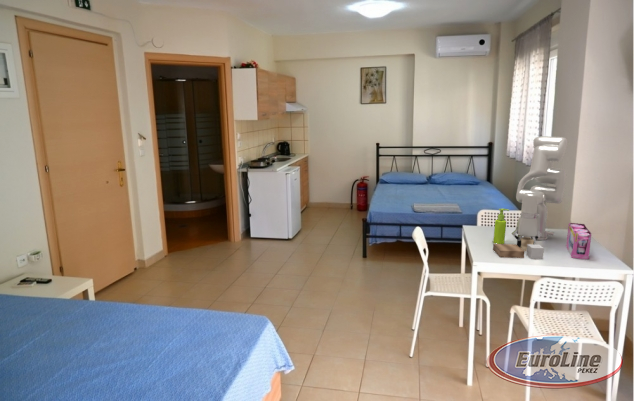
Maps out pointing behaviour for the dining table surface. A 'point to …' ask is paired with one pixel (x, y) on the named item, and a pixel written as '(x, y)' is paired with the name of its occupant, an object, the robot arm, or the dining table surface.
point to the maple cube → (526, 242)
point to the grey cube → (535, 251)
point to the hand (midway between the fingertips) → (525, 247)
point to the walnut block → (508, 250)
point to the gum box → (578, 241)
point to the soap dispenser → (500, 228)
